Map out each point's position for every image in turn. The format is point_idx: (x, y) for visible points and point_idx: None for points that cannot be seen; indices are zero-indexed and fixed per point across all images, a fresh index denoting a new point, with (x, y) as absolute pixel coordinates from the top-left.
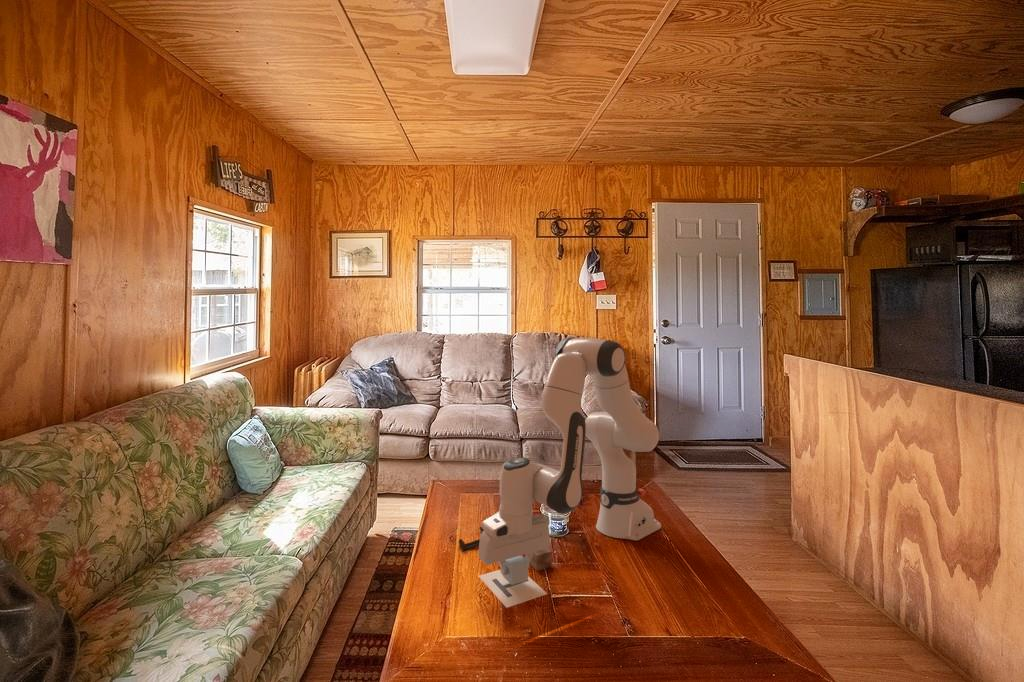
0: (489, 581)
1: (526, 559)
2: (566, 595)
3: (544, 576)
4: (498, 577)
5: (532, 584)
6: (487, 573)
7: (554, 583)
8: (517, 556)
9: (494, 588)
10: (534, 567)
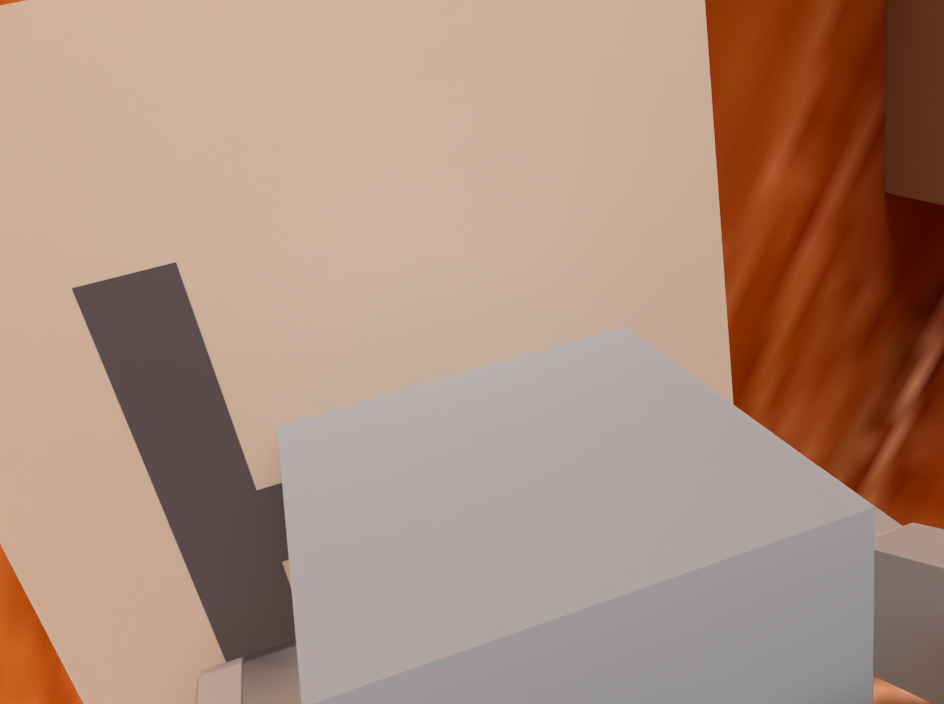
0: (19, 330)
1: (895, 621)
2: (909, 696)
3: (917, 317)
4: (230, 235)
5: None
6: (4, 17)
7: (931, 487)
8: (759, 671)
9: (91, 546)
10: (923, 123)
